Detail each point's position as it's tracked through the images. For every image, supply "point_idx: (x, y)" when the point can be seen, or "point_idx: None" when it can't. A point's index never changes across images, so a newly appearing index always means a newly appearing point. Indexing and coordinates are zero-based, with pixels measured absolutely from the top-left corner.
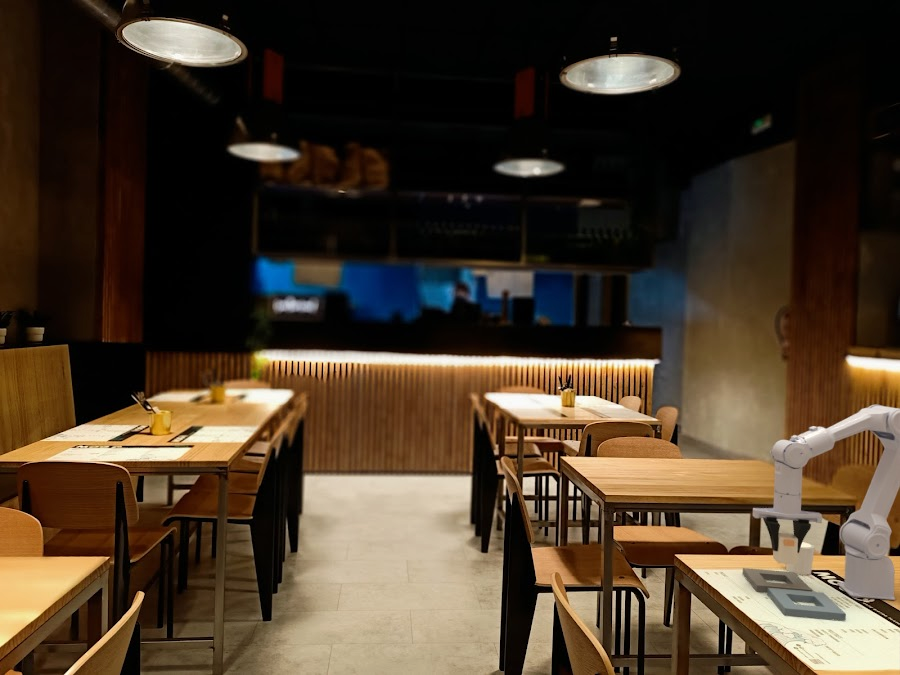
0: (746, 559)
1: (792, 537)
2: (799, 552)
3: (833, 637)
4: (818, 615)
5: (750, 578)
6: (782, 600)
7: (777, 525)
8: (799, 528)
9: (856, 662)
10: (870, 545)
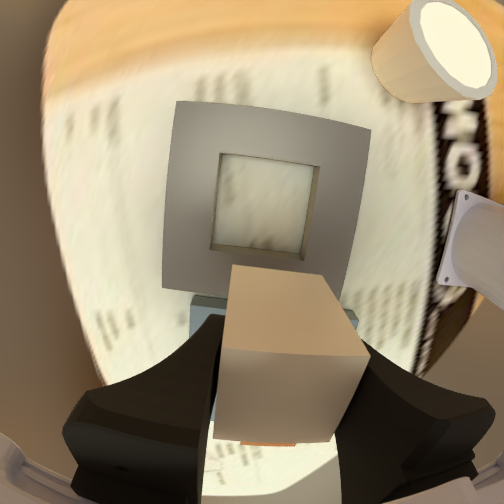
0: None
1: (307, 433)
2: (436, 86)
3: (245, 459)
4: None
5: (166, 208)
6: None
7: None
8: (346, 497)
9: (237, 491)
10: None
